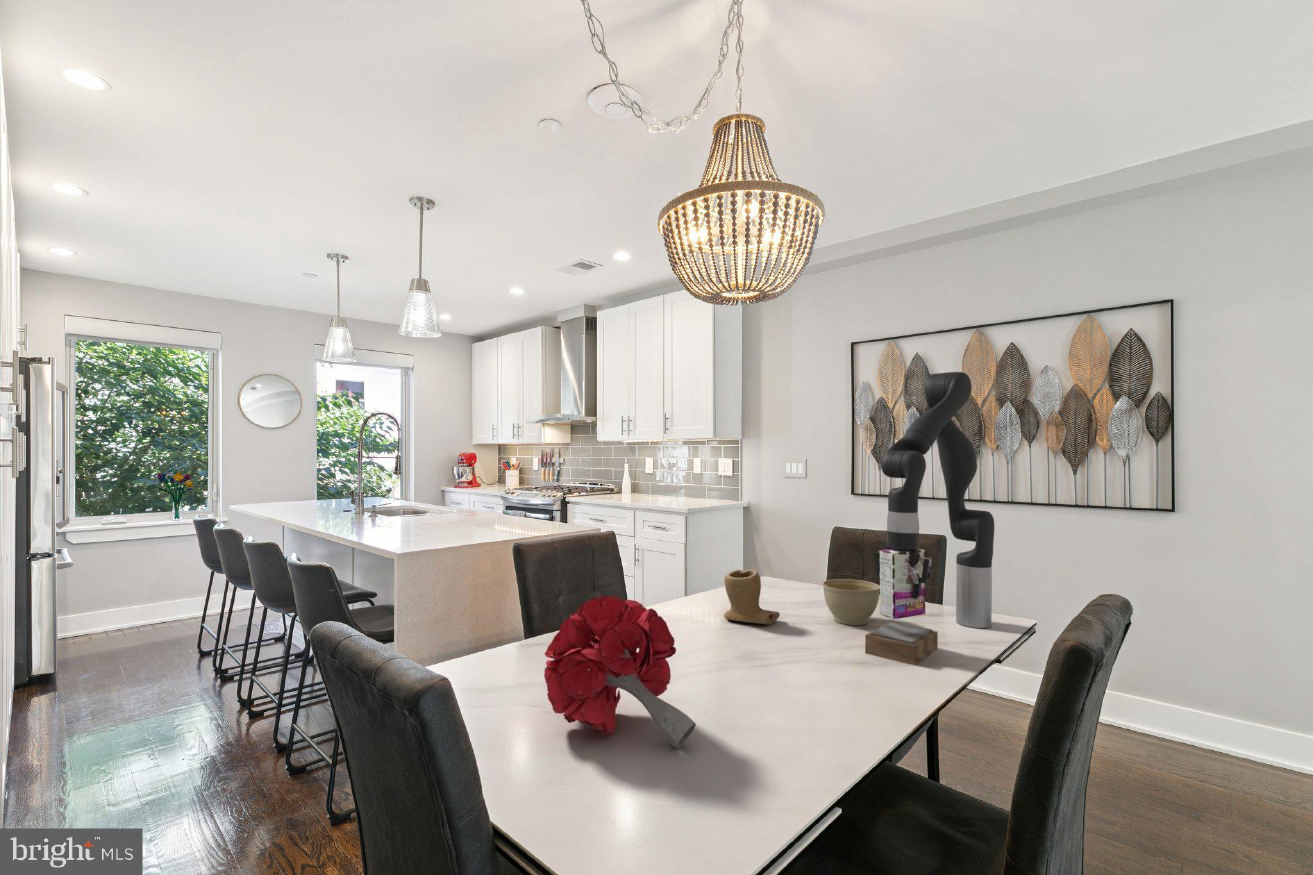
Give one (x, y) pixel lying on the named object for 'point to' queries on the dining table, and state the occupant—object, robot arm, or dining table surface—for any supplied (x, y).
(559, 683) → the bouquet
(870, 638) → the stand
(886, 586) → the candy bar box
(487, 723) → the dining table surface
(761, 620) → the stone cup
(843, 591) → the planter bowl
